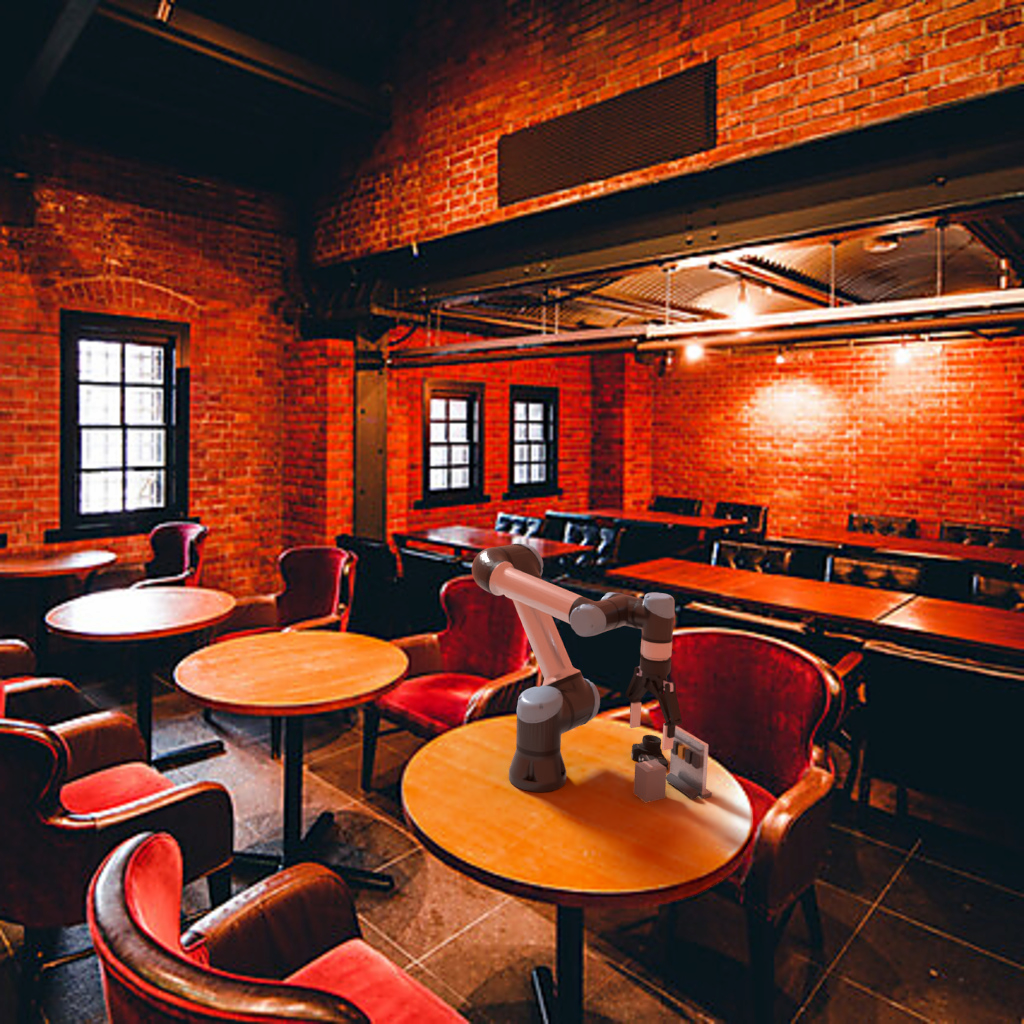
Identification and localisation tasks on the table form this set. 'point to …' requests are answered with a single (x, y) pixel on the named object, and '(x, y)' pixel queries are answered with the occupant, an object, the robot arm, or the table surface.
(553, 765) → the robot arm
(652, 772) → the grey tall block
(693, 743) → the breaker panel
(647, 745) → the film camera
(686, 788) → the gray cylinder
